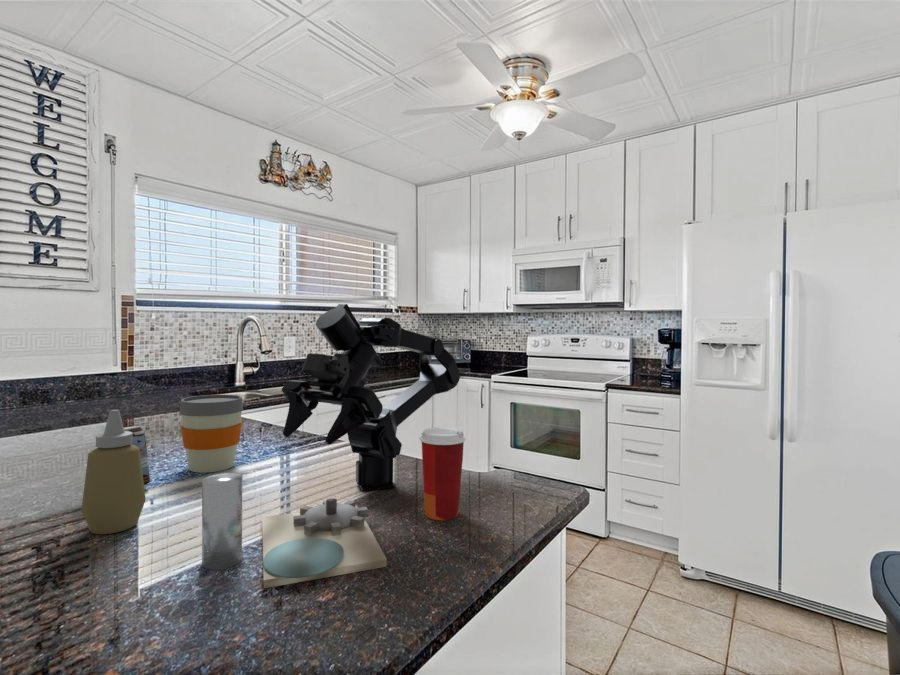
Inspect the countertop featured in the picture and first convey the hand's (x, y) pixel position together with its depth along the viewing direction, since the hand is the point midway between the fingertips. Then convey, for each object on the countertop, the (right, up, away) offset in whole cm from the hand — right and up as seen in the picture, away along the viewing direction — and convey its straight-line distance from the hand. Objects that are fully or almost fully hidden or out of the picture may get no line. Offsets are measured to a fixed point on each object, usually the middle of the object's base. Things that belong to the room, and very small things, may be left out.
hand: (305, 439), depth 78 cm
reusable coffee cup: (-29, -12, +27) cm, 41 cm away
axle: (-7, -13, -14) cm, 21 cm away
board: (+5, -13, -9) cm, 16 cm away
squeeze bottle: (-28, -13, -5) cm, 31 cm away
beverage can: (-36, -12, +11) cm, 40 cm away
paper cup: (+22, -13, +3) cm, 26 cm away
